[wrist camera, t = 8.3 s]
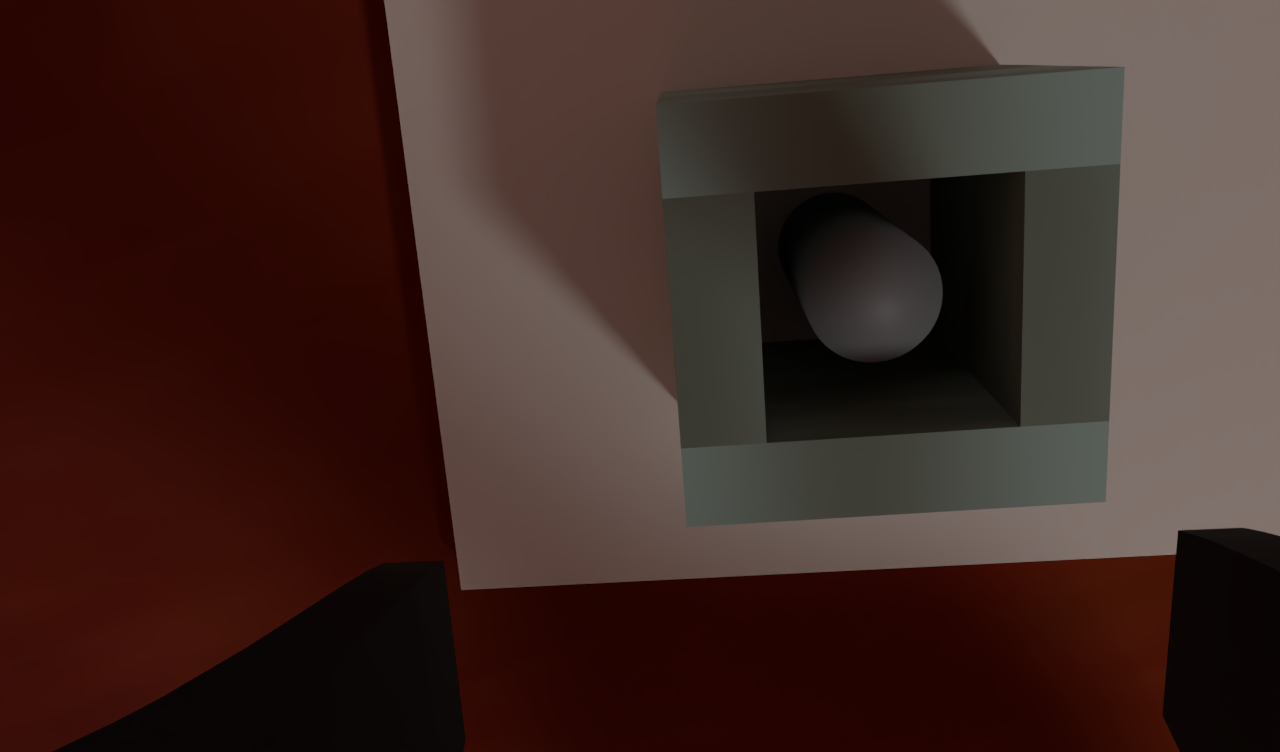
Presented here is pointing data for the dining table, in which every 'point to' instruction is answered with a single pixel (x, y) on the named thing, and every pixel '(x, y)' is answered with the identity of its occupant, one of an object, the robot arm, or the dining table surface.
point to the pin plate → (605, 290)
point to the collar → (971, 304)
